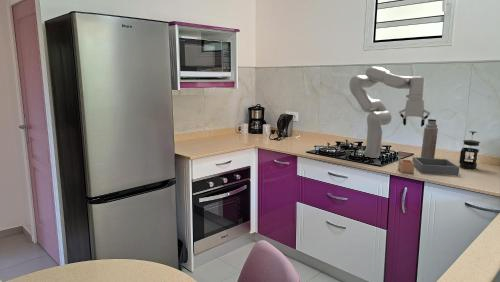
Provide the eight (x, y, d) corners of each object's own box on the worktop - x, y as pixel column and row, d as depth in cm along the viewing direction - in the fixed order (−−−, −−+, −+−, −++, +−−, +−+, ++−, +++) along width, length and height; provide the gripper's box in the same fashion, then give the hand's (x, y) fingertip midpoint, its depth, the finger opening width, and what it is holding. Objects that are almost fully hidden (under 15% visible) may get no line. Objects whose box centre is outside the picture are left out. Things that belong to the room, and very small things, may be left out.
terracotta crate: (401, 172, 205) (402, 162, 204) (397, 168, 214) (399, 159, 212) (413, 173, 204) (414, 163, 203) (409, 169, 212) (410, 159, 211)
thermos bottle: (436, 162, 233) (441, 120, 228) (426, 162, 231) (431, 120, 226) (427, 159, 241) (432, 118, 236) (417, 159, 239) (422, 118, 234)
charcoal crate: (421, 173, 205) (422, 164, 204) (411, 164, 225) (412, 157, 224) (458, 175, 202) (459, 167, 201) (445, 167, 221) (446, 159, 220)
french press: (468, 165, 227) (473, 130, 223) (481, 169, 218) (486, 132, 214) (453, 166, 224) (458, 130, 220) (465, 170, 215) (471, 132, 211)
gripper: (398, 97, 214) (396, 125, 216) (430, 97, 204) (428, 127, 207) (401, 96, 220) (399, 124, 222) (432, 97, 210) (430, 126, 213)
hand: (413, 125), depth 214 cm, fingers open, 9 cm apart
